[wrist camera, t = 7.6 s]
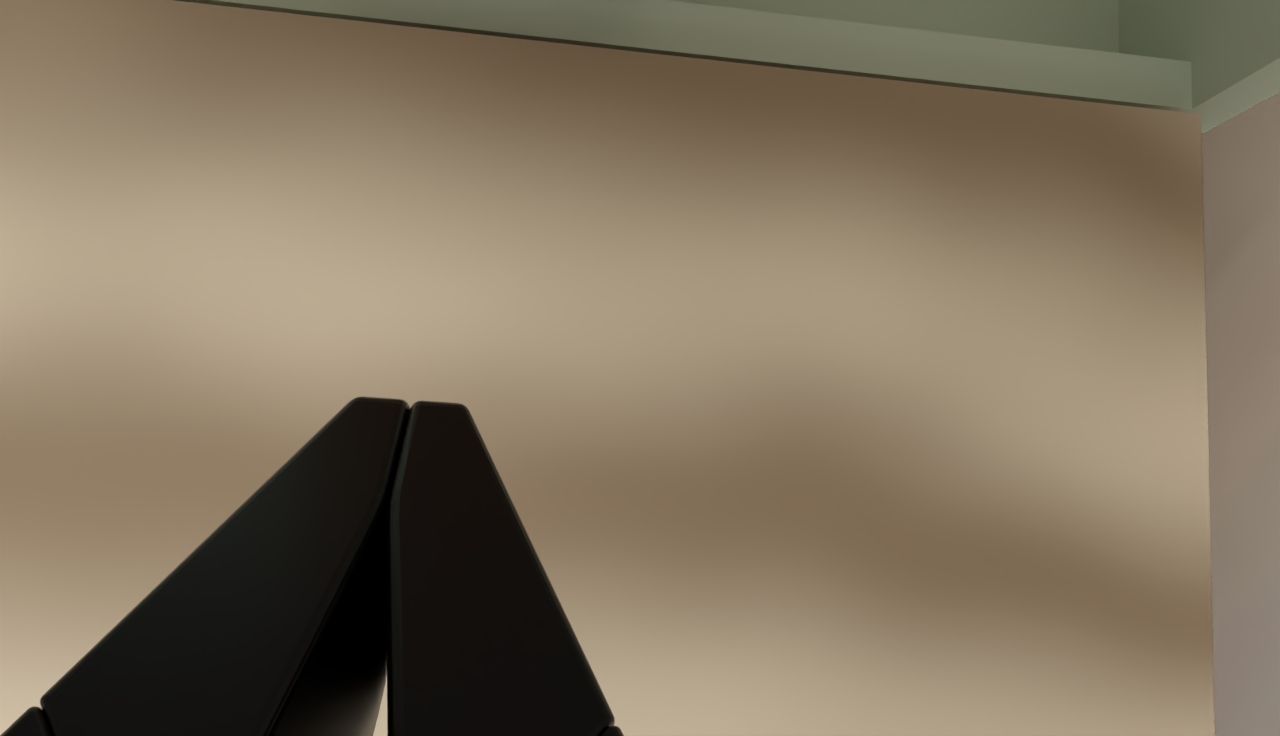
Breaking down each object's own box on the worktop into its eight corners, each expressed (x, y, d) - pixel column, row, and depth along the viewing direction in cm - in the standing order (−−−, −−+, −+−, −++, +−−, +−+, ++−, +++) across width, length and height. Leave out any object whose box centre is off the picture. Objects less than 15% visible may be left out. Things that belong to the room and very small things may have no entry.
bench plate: (1100, 1005, 18) (1222, 1102, 15) (-404, 1005, 15) (-627, 1125, 12) (1094, 174, 20) (1201, 113, 17) (-228, 40, 17) (-382, -62, 14)
